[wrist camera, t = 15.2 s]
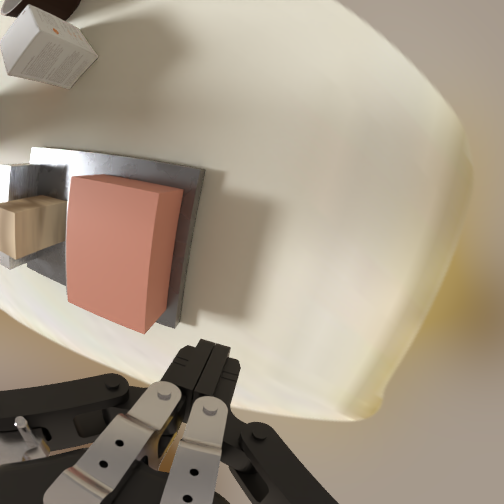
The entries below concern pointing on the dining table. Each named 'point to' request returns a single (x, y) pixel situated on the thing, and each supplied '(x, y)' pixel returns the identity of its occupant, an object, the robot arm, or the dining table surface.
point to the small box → (45, 49)
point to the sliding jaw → (120, 247)
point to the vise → (90, 163)
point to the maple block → (31, 225)
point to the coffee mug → (41, 7)
